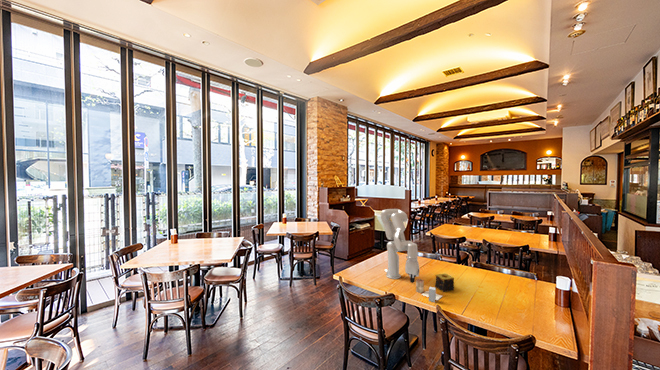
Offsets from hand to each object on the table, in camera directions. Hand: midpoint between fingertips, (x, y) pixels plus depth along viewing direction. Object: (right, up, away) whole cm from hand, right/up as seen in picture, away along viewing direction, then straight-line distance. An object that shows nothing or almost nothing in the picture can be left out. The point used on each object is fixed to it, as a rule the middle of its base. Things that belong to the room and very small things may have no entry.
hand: (412, 282), depth 203 cm
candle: (+26, -6, +1) cm, 26 cm away
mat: (+11, -6, -11) cm, 17 cm away
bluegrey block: (+8, -6, -18) cm, 21 cm away
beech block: (+4, -6, -4) cm, 8 cm away
